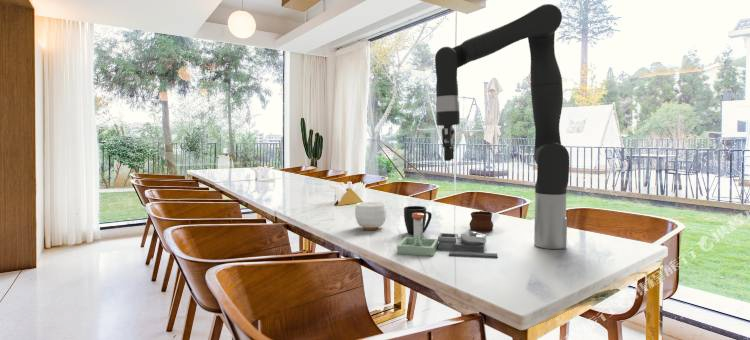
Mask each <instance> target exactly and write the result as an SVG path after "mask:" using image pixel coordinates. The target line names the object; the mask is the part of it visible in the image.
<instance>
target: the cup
mask: <svg viewBox="0 0 750 340" xmlns="http://www.w3.org/2000/svg"><path fill="white" fill-rule="evenodd" d="M386 207H387V206H386V204H385V202H382V201H362V202H357V203H356V204H355V210H354V211H355V212H354V213H355V214H354V216H355V219H356V223H357V225H359V227H361V228H363V230H368V231H372V230H373V231H374V230H378V229H379V227H382V226H383V225H384V223H385V222H386V219H387V208H386Z"/></svg>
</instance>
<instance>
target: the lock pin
mask: <svg viewBox="0 0 750 340" xmlns="http://www.w3.org/2000/svg"><path fill="white" fill-rule="evenodd" d="M412 217H413V218H414V235H413V238H414V246H421V247H423V238H424V236H423V234H424V233H423V220H422V218H423V217H424V213H412Z"/></svg>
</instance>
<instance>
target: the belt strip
mask: <svg viewBox="0 0 750 340" xmlns="http://www.w3.org/2000/svg"><path fill="white" fill-rule="evenodd" d="M448 251H449V252H448V254H449V255H448V256H449V257H467V256H468V257H471V258H475V257H476V258H489V259H490V258H491V259H494V258H495V259H497V258H498V253H494V252H492V253H491V252H484V253H482V252H467V251H451V250H448Z"/></svg>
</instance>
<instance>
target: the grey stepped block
mask: <svg viewBox="0 0 750 340" xmlns="http://www.w3.org/2000/svg"><path fill="white" fill-rule="evenodd" d="M437 239H438V248H437V250H438V249H439V250H440V251H441V250H442V251H451V252H474V253H485V248H486V243H487V234H484V233H483V232H476V231H472V230H470V231H469V232H463V233H460V236H459V234H458V233H448V232H447V233H446V232H440V233H439V235H438V236H437Z"/></svg>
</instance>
